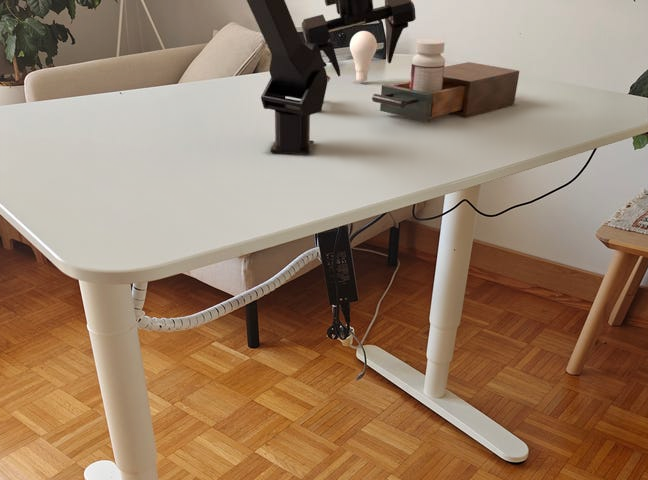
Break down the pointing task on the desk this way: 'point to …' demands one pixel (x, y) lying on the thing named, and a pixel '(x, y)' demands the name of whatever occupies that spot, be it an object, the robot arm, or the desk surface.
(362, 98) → the desk surface
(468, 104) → the cabinet
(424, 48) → the pill bottle
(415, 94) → the drawer
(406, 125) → the desk surface
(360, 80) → the lightbulb
